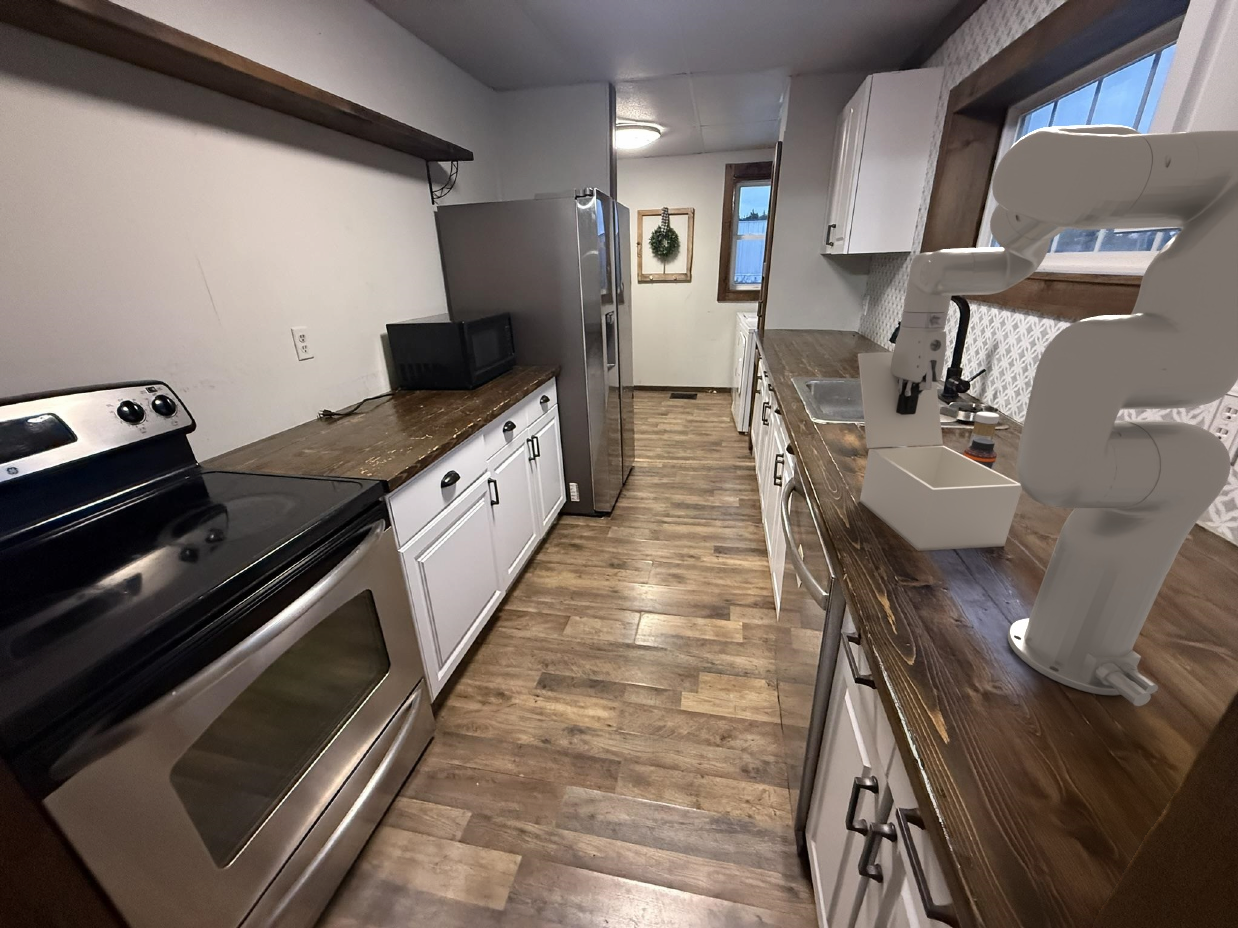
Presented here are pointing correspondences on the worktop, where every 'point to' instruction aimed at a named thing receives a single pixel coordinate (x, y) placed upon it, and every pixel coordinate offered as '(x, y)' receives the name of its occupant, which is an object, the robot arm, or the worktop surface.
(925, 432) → the lid flap
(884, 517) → the carton
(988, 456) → the supplement bottle
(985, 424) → the sprinkles bottle
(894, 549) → the worktop surface
